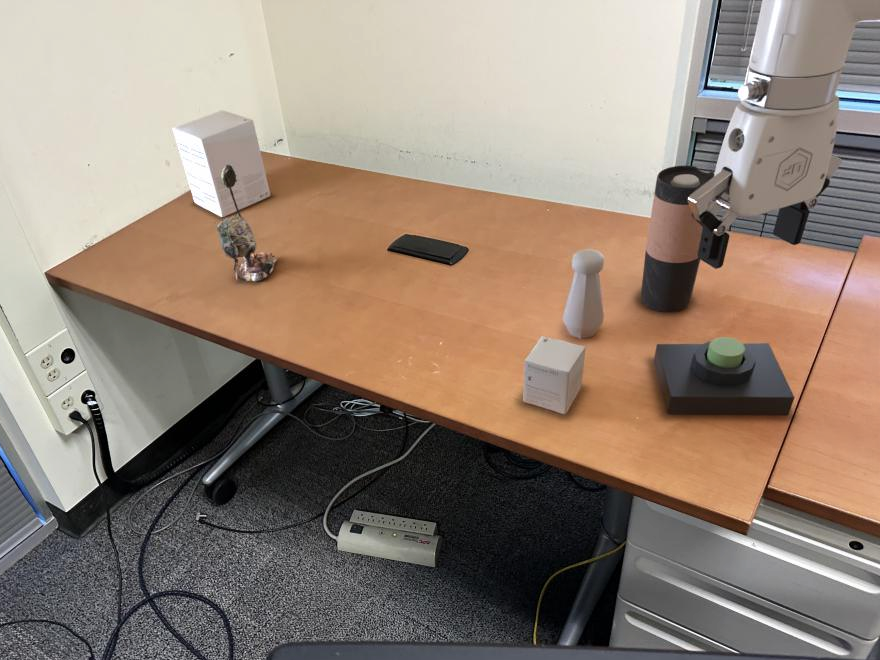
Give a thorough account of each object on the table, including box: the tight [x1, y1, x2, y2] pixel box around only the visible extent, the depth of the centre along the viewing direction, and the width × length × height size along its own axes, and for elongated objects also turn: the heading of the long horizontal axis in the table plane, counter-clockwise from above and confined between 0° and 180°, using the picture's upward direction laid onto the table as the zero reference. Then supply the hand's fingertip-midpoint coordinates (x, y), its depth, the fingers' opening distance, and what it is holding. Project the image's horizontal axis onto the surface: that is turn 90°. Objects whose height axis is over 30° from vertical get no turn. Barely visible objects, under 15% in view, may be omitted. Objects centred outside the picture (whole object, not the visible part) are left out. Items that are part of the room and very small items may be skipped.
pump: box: [707, 336, 745, 368], centre depth 86 cm, size 4×4×2 cm
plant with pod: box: [214, 165, 279, 282], centre depth 123 cm, size 8×11×20 cm
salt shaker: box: [562, 248, 605, 340], centre depth 99 cm, size 6×6×13 cm
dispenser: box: [653, 340, 796, 417], centre depth 88 cm, size 14×11×5 cm
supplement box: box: [172, 110, 271, 218], centre depth 152 cm, size 13×13×18 cm
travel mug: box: [640, 165, 715, 313], centre depth 100 cm, size 8×8×20 cm
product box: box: [522, 335, 587, 415], centre depth 90 cm, size 6×6×7 cm
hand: (747, 251), depth 74 cm, fingers open, 9 cm apart
